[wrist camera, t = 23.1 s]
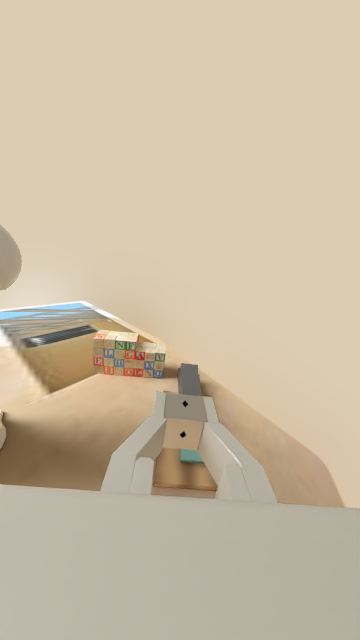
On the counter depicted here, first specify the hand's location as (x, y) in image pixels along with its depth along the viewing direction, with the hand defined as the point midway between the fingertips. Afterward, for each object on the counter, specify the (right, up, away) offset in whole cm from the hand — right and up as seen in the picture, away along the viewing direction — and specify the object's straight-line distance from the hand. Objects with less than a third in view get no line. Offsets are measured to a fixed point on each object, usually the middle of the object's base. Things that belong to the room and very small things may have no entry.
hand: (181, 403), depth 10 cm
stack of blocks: (-17, -12, +50) cm, 54 cm away
